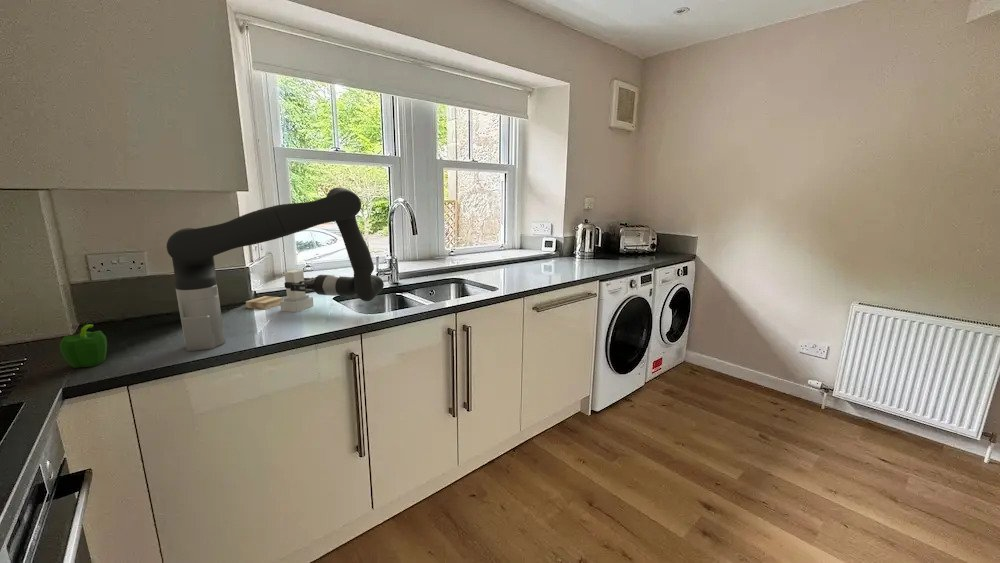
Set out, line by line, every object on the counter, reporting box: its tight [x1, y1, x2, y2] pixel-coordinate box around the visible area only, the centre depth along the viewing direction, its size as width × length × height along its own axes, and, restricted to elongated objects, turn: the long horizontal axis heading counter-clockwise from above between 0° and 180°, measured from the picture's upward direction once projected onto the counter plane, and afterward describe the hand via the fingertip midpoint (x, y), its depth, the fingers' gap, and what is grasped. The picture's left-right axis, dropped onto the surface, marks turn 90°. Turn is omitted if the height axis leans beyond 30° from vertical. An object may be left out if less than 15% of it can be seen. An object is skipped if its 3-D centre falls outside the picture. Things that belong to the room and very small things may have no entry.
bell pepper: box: [58, 323, 108, 369], centre depth 99 cm, size 8×8×10 cm
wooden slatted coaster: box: [245, 295, 284, 310], centre depth 154 cm, size 9×9×2 cm
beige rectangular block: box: [279, 294, 315, 313], centre depth 151 cm, size 9×7×4 cm
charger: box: [284, 269, 307, 299], centre depth 149 cm, size 5×4×11 cm
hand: (293, 282), depth 149 cm, fingers open, 8 cm apart
